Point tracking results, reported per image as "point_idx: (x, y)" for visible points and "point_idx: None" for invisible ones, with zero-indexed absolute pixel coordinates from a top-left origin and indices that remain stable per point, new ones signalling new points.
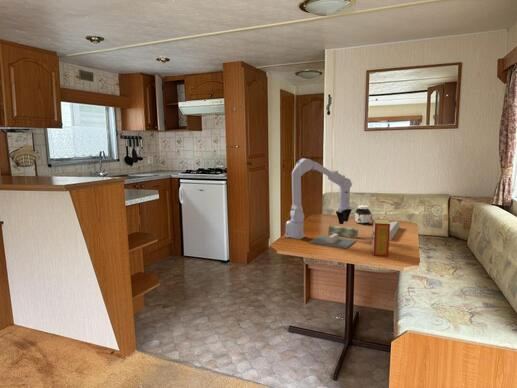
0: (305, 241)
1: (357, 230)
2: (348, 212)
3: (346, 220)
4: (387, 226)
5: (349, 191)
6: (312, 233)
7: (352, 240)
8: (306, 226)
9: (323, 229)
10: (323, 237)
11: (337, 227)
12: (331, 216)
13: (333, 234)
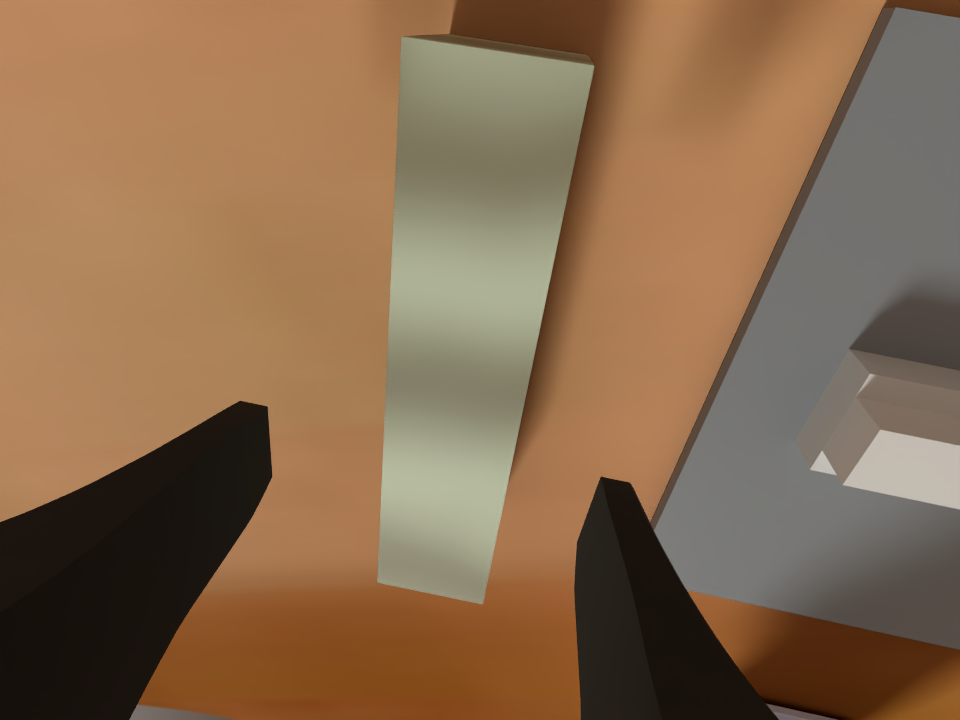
0: (946, 680)
1: (468, 44)
2: (40, 638)
3: (253, 445)
4: None
5: None
6: (522, 638)
7: (903, 92)
8: (253, 685)
9: (266, 559)
10: (755, 549)
11: (485, 491)
12: None
13: (926, 496)
